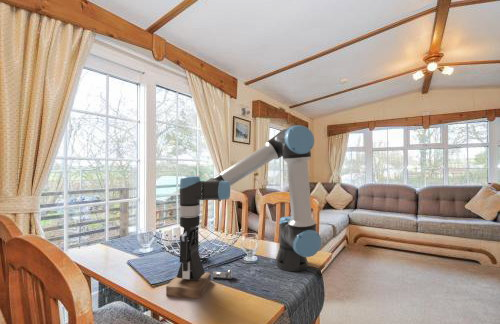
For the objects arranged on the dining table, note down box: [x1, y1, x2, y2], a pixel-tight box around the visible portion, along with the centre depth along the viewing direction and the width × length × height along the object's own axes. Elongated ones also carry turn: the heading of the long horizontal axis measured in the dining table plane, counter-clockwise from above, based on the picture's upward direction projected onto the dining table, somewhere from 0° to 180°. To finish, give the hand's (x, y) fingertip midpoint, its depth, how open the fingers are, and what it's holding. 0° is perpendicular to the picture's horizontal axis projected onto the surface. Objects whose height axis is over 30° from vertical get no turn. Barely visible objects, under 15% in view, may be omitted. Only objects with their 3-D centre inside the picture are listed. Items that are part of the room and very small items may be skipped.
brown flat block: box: [165, 272, 212, 299], centre depth 98 cm, size 13×13×4 cm
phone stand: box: [176, 243, 206, 281], centre depth 98 cm, size 9×6×12 cm, turn 74°
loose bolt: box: [211, 268, 233, 280], centre depth 107 cm, size 8×4×4 cm, turn 82°
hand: (189, 274), depth 98 cm, fingers closed on phone stand, 6 cm apart
